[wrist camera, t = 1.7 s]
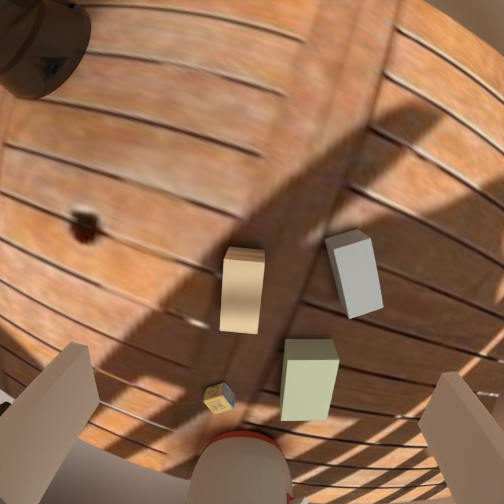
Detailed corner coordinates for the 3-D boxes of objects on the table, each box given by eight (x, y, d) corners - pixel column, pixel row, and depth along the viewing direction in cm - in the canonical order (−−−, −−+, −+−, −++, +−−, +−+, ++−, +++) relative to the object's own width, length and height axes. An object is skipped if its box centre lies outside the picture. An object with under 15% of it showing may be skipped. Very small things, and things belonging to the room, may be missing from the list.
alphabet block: (236, 395, 41) (234, 409, 38) (217, 401, 42) (214, 415, 39) (225, 380, 41) (222, 394, 38) (206, 387, 41) (202, 401, 38)
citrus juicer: (306, 467, 46) (315, 560, 26) (212, 475, 47) (198, 563, 28) (296, 412, 42) (307, 527, 23) (184, 423, 43) (155, 527, 24)
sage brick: (285, 338, 39) (287, 360, 34) (331, 338, 39) (339, 359, 34) (279, 396, 41) (281, 420, 37) (321, 396, 41) (326, 419, 36)
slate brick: (324, 238, 35) (333, 249, 30) (356, 228, 35) (370, 238, 30) (339, 300, 37) (349, 318, 32) (369, 290, 37) (383, 307, 32)
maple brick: (229, 246, 36) (223, 258, 31) (264, 249, 36) (264, 262, 31) (224, 310, 38) (219, 330, 33) (257, 313, 38) (257, 334, 33)
